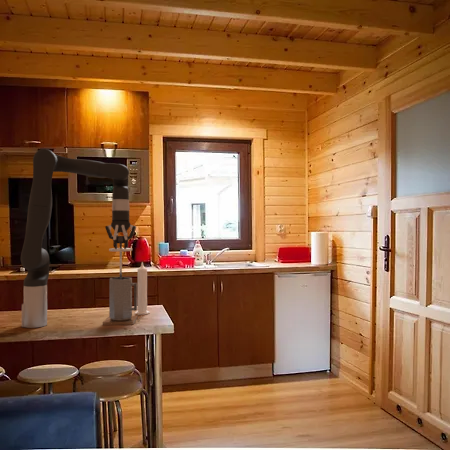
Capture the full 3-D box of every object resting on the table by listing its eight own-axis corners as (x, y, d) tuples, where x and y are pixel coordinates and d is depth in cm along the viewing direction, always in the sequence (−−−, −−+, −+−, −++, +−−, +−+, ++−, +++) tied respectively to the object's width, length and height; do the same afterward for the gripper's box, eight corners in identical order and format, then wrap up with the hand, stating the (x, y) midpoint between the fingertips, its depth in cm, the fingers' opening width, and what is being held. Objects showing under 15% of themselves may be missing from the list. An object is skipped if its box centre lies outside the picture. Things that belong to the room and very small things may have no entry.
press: (102, 325, 187) (102, 280, 187) (109, 318, 200) (109, 276, 200) (134, 324, 188) (134, 280, 188) (138, 318, 201) (138, 276, 201)
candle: (135, 315, 208) (135, 262, 208) (134, 312, 215) (134, 261, 215) (150, 314, 210) (150, 262, 210) (148, 311, 216) (148, 261, 217)
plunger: (107, 290, 189) (106, 236, 189) (111, 287, 199) (111, 235, 199) (130, 290, 189) (130, 236, 189) (133, 287, 199) (133, 235, 199)
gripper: (102, 209, 190) (102, 249, 190) (135, 209, 191) (135, 248, 191) (106, 210, 198) (106, 248, 197) (138, 210, 198) (138, 248, 198)
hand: (120, 248), depth 194 cm, fingers closed on plunger, 3 cm apart
